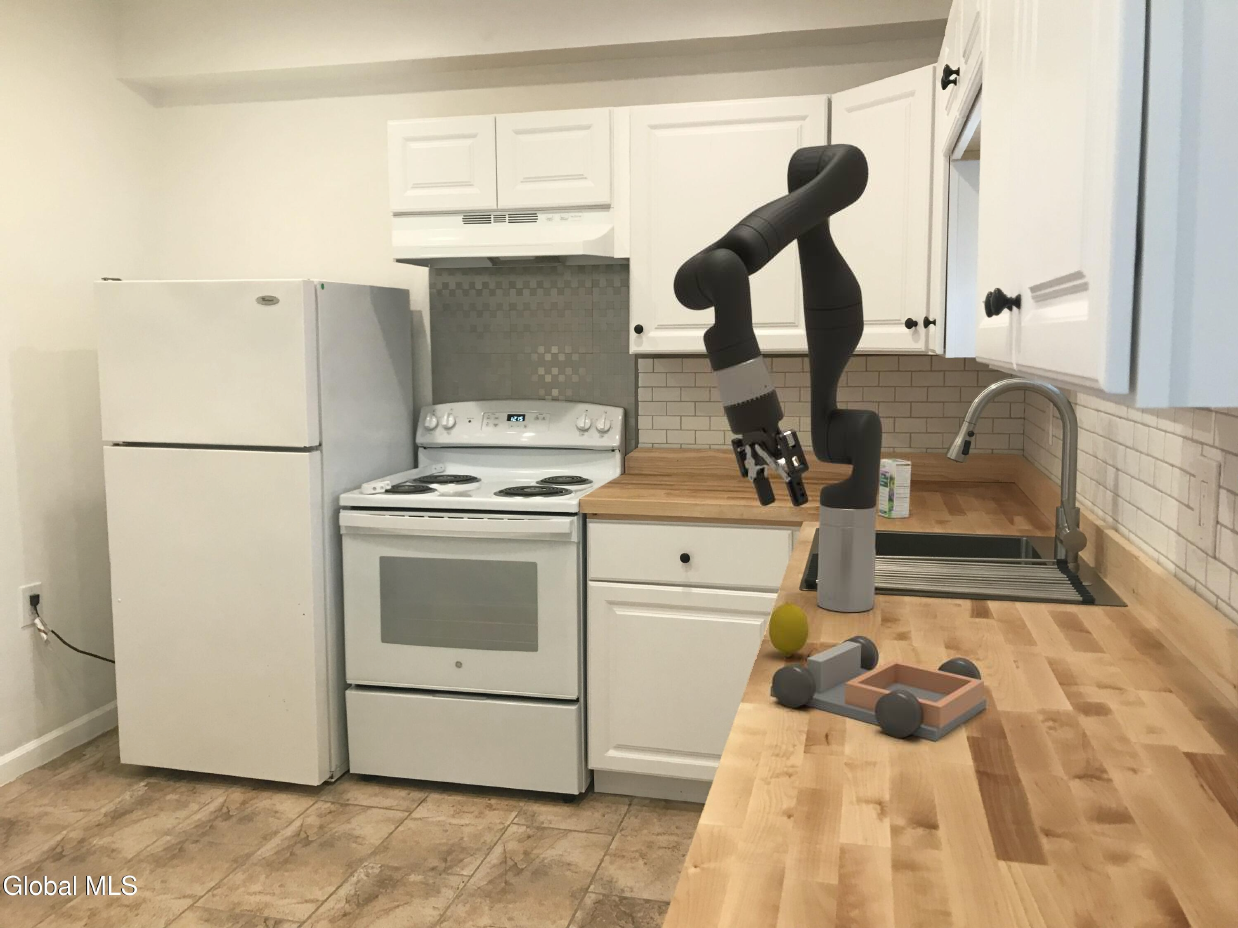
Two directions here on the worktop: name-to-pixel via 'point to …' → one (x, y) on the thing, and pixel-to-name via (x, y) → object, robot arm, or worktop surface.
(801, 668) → the chassis
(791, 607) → the lemon
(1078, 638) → the worktop surface
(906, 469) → the syrup box
